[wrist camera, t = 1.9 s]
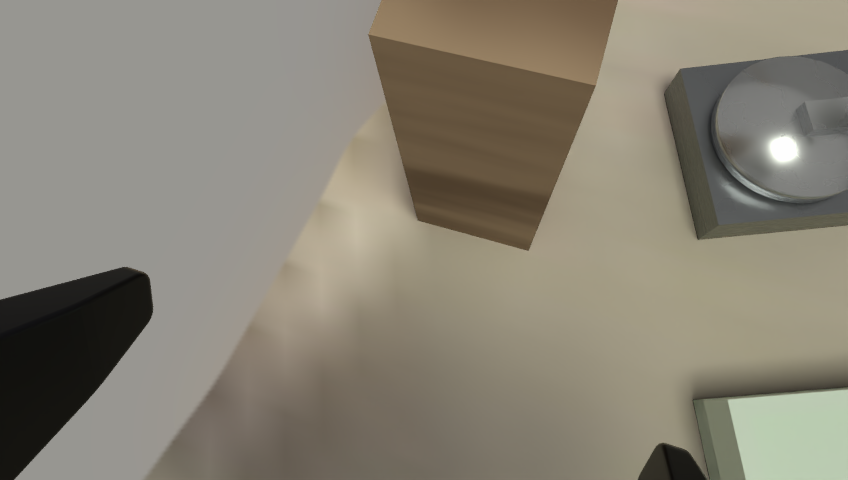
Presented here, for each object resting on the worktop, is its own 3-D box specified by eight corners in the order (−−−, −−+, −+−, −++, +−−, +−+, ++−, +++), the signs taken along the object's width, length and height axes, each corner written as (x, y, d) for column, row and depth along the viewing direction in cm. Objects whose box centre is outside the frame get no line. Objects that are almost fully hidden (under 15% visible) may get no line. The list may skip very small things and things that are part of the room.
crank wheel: (730, 210, 22) (792, 165, 17) (695, 76, 23) (745, 6, 19) (889, 194, 21) (991, 145, 17) (843, 59, 23) (925, -15, 19)
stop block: (528, 250, 24) (595, 85, 11) (418, 220, 25) (368, 34, 12) (555, 148, 25) (644, -102, 13) (450, 122, 26) (435, -138, 13)
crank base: (698, 239, 23) (718, 225, 21) (664, 93, 25) (680, 68, 23) (869, 222, 23) (905, 206, 21) (821, 76, 25) (850, 49, 23)
